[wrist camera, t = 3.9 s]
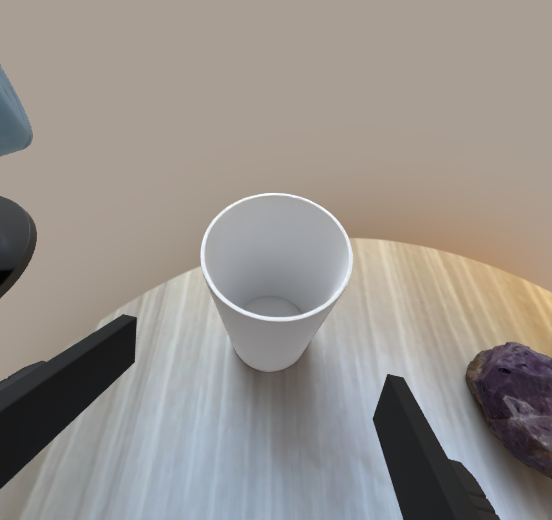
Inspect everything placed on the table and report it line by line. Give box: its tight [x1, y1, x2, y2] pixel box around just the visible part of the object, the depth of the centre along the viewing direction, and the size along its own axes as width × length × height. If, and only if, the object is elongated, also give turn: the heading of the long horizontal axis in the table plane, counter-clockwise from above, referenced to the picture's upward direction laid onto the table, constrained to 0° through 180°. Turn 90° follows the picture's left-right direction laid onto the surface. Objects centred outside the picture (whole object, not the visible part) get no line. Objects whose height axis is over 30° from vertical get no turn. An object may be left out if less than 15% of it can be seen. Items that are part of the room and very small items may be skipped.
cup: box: [201, 193, 353, 372], centre depth 21 cm, size 8×8×16 cm
